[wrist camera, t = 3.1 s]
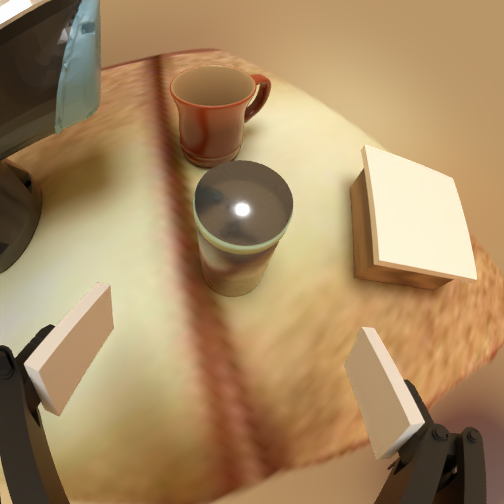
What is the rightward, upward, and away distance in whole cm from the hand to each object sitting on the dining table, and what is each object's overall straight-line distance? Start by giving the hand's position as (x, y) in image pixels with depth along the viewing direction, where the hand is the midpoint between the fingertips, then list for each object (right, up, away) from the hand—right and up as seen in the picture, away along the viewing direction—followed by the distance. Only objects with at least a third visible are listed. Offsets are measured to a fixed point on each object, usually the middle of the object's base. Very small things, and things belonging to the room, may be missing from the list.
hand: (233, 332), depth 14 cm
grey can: (-1, +2, +14) cm, 14 cm away
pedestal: (+19, +6, +18) cm, 27 cm away
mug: (-3, +17, +21) cm, 27 cm away
